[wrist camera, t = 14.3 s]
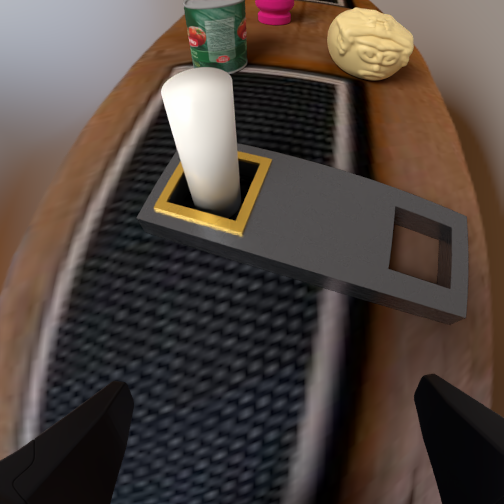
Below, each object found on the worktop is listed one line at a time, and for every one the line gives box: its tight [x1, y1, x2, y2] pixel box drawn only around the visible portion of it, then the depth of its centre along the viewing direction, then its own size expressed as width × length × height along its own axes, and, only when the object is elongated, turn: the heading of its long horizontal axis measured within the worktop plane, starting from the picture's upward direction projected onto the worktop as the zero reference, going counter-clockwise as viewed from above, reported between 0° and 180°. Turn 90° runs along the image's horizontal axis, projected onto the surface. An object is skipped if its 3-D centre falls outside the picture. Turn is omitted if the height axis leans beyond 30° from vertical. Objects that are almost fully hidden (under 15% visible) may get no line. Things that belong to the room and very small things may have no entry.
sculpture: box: [327, 8, 414, 81], centre depth 32 cm, size 12×12×11 cm
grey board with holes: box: [137, 143, 468, 325], centre depth 24 cm, size 28×10×3 cm, turn 71°
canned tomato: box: [183, 0, 247, 74], centre depth 32 cm, size 8×8×11 cm
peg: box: [161, 67, 241, 219], centre depth 21 cm, size 4×4×12 cm
